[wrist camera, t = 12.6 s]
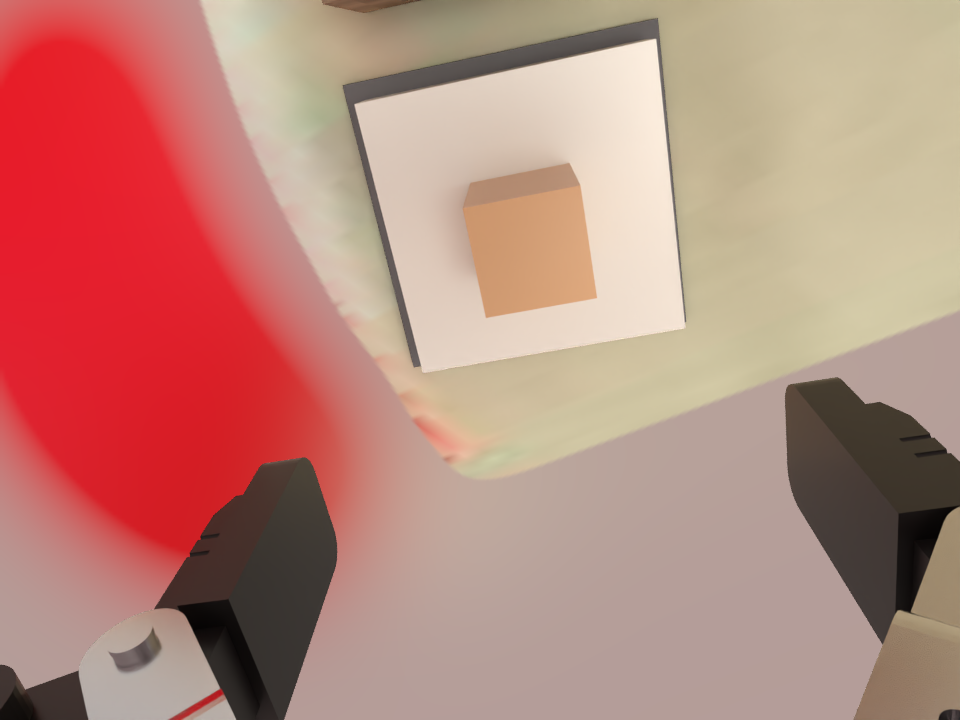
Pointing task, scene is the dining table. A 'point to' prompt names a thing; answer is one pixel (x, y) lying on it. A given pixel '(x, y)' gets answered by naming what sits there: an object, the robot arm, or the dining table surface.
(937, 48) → the dining table surface
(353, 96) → the mat
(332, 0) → the storage box
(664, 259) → the lid
